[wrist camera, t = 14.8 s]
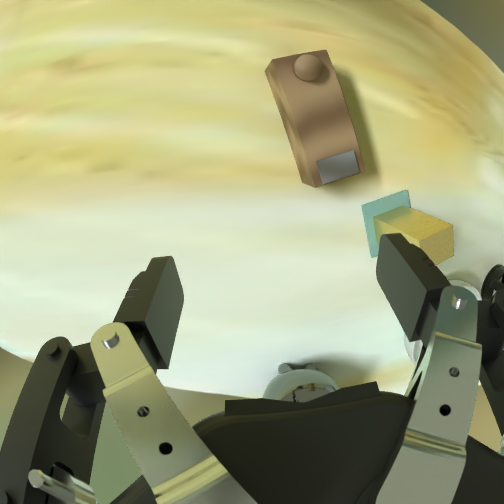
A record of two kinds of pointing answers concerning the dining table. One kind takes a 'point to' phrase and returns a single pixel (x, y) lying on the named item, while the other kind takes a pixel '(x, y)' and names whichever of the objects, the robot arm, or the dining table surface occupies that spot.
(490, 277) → the french press
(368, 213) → the mat
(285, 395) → the piggy bank
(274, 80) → the body
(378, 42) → the dining table surface
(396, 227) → the brushed brass block
